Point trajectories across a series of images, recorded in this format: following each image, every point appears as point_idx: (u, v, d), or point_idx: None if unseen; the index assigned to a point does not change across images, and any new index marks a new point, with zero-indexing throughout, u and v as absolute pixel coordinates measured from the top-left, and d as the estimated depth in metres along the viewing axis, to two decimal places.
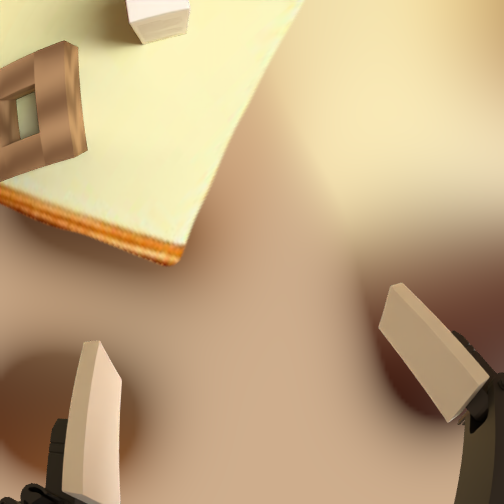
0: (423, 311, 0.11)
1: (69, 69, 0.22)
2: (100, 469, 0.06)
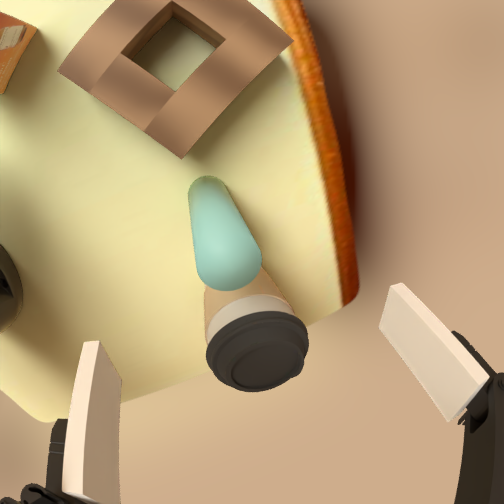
0: (423, 311, 0.11)
1: None
2: (100, 469, 0.06)
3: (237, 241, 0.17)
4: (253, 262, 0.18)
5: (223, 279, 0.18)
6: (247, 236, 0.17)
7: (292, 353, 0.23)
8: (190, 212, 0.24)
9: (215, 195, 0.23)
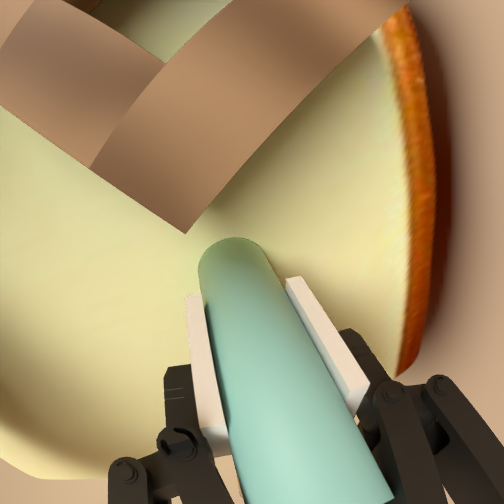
0: (311, 305, 0.12)
1: None
2: None
3: None
4: None
5: None
6: (384, 500, 0.04)
7: None
8: (210, 341, 0.11)
9: (267, 321, 0.10)
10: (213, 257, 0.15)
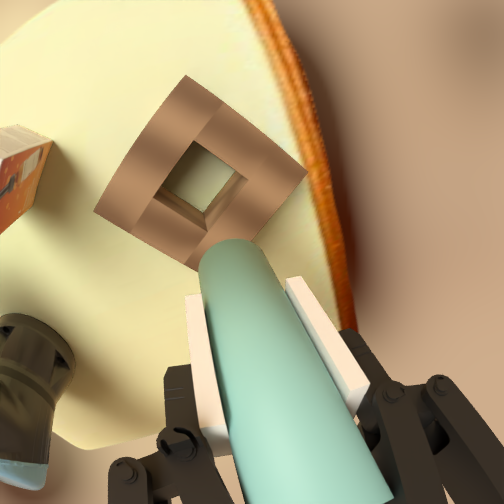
0: (311, 305, 0.12)
1: None
2: None
3: None
4: None
5: None
6: (383, 500, 0.04)
7: None
8: (210, 342, 0.11)
9: (267, 322, 0.10)
10: (213, 258, 0.15)
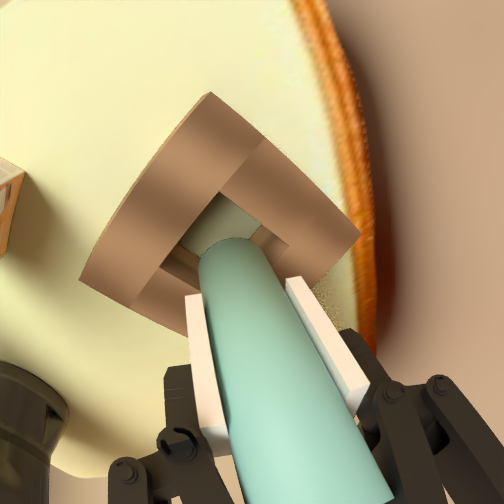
0: (311, 305, 0.12)
1: (106, 227, 0.17)
2: None
3: None
4: None
5: None
6: (383, 500, 0.04)
7: None
8: (210, 341, 0.11)
9: (267, 321, 0.10)
10: (213, 257, 0.15)
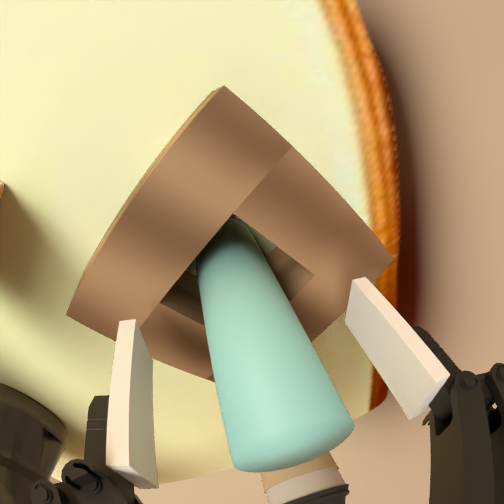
0: (383, 305, 0.11)
1: (96, 253, 0.14)
2: (141, 442, 0.07)
3: (319, 427, 0.07)
4: (337, 438, 0.08)
5: (280, 463, 0.08)
6: (339, 416, 0.07)
7: None
8: (201, 297, 0.14)
9: (247, 275, 0.13)
10: None
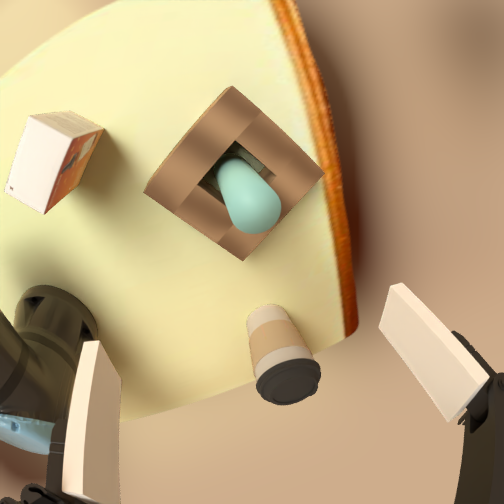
0: (423, 311, 0.11)
1: (164, 162, 0.29)
2: (100, 469, 0.06)
3: (262, 191, 0.21)
4: (274, 209, 0.22)
5: (250, 223, 0.23)
6: (270, 188, 0.22)
7: (310, 382, 0.35)
8: (219, 179, 0.28)
9: (240, 164, 0.27)
10: (221, 158, 0.32)
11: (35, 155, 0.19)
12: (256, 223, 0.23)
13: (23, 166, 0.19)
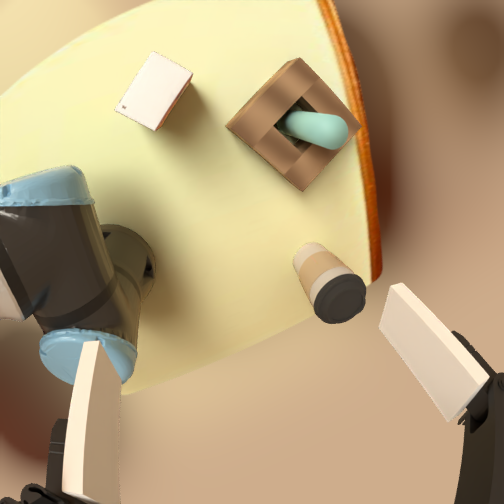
0: (423, 311, 0.11)
1: (245, 108, 0.36)
2: (100, 469, 0.06)
3: (337, 120, 0.29)
4: (344, 133, 0.30)
5: (329, 141, 0.30)
6: None
7: (359, 297, 0.42)
8: (290, 122, 0.36)
9: None
10: (285, 112, 0.39)
11: (155, 81, 0.26)
12: (332, 141, 0.30)
13: (141, 89, 0.26)
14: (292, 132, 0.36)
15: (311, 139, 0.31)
